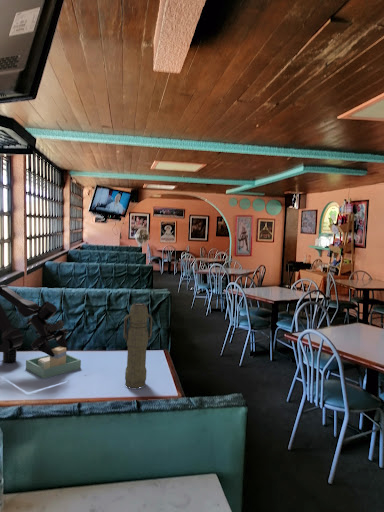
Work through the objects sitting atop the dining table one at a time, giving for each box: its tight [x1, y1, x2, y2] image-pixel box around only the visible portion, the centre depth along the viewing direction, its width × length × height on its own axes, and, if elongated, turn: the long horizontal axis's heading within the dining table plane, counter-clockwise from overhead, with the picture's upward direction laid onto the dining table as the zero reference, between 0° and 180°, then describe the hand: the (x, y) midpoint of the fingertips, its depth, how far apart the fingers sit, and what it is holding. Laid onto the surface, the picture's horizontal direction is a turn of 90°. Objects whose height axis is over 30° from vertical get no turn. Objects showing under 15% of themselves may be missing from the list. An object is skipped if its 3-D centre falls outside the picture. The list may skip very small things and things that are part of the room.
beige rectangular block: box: [38, 357, 50, 369], centre depth 168 cm, size 6×8×3 cm
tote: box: [25, 353, 82, 379], centre depth 166 cm, size 16×18×4 cm
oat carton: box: [49, 345, 67, 368], centre depth 163 cm, size 4×6×10 cm
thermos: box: [123, 302, 153, 389], centre depth 153 cm, size 9×12×35 cm
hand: (60, 353), depth 163 cm, fingers open, 9 cm apart
